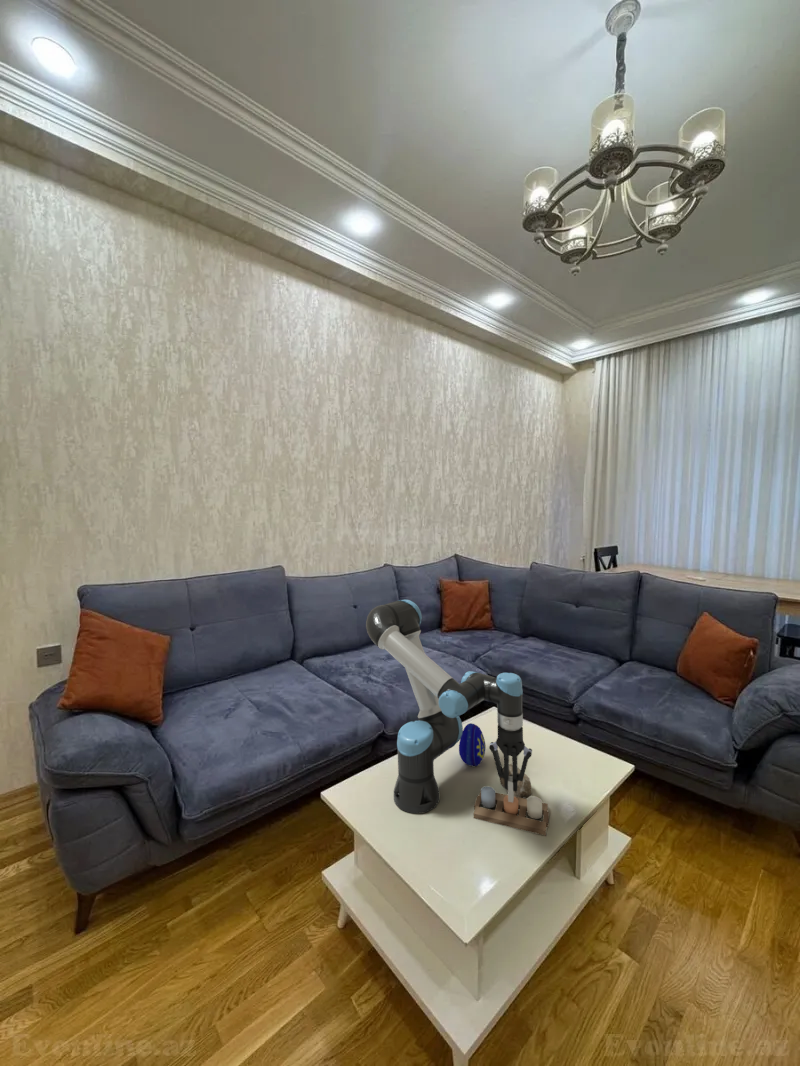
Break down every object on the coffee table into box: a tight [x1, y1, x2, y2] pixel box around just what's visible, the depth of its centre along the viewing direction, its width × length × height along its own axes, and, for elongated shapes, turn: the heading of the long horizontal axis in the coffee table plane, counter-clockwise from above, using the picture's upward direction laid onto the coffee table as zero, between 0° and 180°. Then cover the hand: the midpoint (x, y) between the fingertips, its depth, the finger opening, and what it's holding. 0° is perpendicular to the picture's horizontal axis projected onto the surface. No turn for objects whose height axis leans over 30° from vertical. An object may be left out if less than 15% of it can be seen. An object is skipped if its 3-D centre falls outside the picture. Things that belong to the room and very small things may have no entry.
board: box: [473, 790, 550, 836], centre depth 133 cm, size 22×12×2 cm, turn 68°
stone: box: [498, 763, 533, 799], centre depth 143 cm, size 7×12×7 cm, turn 35°
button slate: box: [480, 786, 496, 809], centre depth 135 cm, size 4×4×4 cm
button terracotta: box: [503, 794, 519, 816], centre depth 133 cm, size 4×4×4 cm
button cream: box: [526, 795, 543, 820], centre depth 130 cm, size 4×4×4 cm
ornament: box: [458, 722, 487, 767], centre depth 159 cm, size 11×9×15 cm
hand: (511, 799), depth 133 cm, fingers closed
